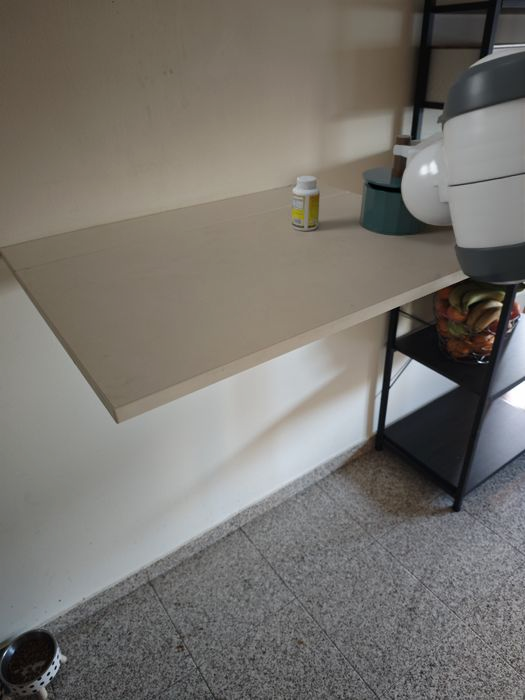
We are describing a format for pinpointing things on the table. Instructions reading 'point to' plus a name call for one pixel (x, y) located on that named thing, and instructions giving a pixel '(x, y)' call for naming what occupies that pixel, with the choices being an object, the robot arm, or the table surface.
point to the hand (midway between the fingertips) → (398, 146)
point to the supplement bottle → (305, 204)
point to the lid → (390, 168)
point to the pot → (387, 211)
